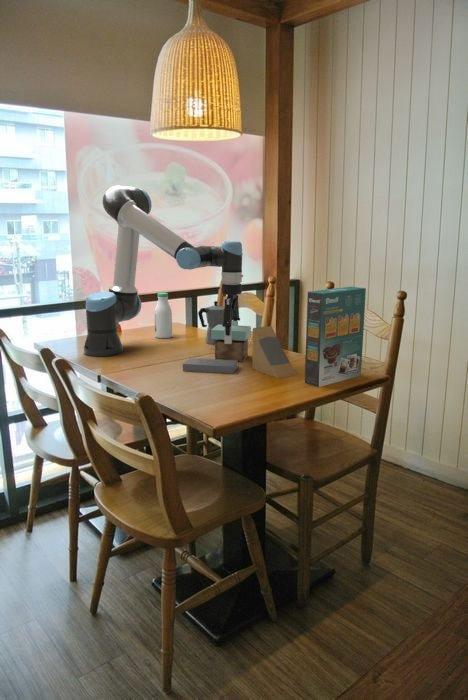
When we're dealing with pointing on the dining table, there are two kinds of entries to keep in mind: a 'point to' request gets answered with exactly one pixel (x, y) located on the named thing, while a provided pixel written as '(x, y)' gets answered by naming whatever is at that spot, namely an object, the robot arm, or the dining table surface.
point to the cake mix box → (334, 335)
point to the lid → (237, 332)
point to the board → (210, 365)
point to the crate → (231, 350)
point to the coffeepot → (212, 319)
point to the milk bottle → (163, 317)
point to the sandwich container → (270, 354)
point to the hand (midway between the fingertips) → (231, 340)
